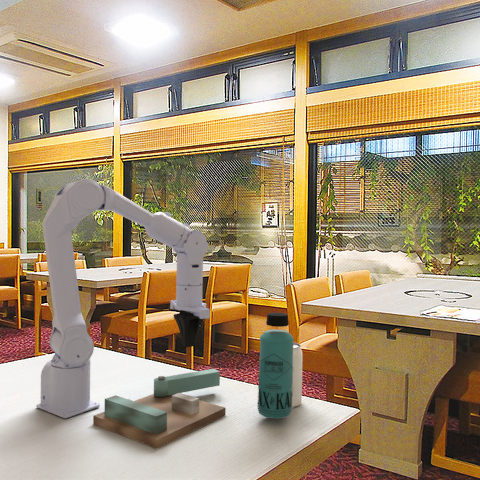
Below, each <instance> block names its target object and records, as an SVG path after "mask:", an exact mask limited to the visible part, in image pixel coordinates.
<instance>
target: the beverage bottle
mask: <svg viewBox="0 0 480 480" xmlns="http://www.w3.org/2000/svg"><path fill="white" fill-rule="evenodd" d="M265 322H266V324H265V325H267V326H270V327H276V328H278V327H279V328H282V327H288V326H289V323H290V322H289V315H288V314H287V313H285V312H269V313H267V316H266V321H265ZM294 340H295V339H294V337H293V336H292V334H291V333H290V332H289V331H287V330H283V329H267V330H265V331H264V332H263V333H262V334H260V336H259V341H260V346H259V363H258V375H257V376H258V377H257V378H258V379H257V383H258V387H257V388H258V390H257V405H256V407H257V408H256V409H257V411H258V413H259V415H260V416H263V417H266V418H269V419H283V418H287V417H289V416H290V415H291V413H292V410H293V409H292V408H291V406H292V405H291V404H292V399H293V394H292V383H293V382H292V380H293V379H292V377H293V370H294V368H293V342H294Z"/></svg>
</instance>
